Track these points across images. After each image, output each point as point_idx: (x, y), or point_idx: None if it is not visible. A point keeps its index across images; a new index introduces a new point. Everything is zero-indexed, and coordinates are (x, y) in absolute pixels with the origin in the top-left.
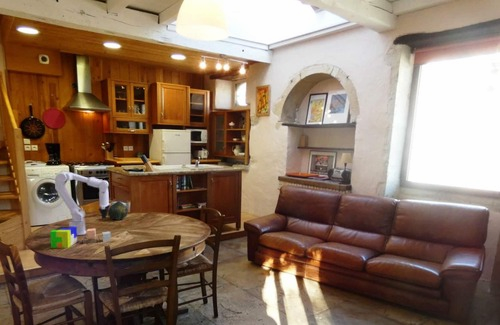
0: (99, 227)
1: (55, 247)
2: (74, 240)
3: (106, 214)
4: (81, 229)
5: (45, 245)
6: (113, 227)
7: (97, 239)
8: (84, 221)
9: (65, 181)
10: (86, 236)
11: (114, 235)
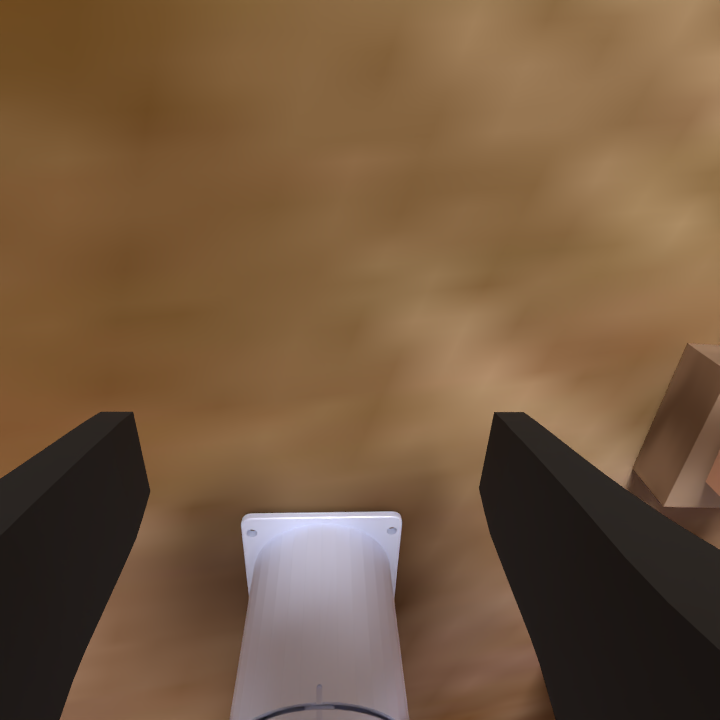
0: (59, 388)
1: None
2: None
3: (119, 445)
4: (388, 599)
5: None
6: (81, 142)
7: (713, 345)
8: (343, 692)
9: None
10: (688, 497)
11: (662, 87)
